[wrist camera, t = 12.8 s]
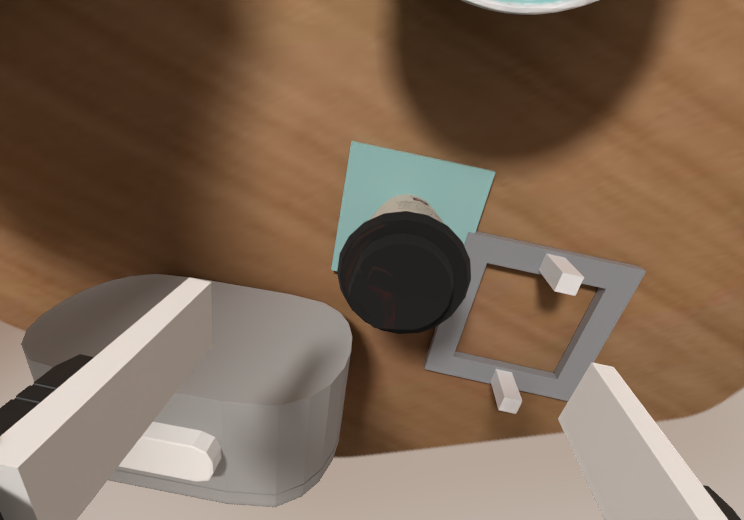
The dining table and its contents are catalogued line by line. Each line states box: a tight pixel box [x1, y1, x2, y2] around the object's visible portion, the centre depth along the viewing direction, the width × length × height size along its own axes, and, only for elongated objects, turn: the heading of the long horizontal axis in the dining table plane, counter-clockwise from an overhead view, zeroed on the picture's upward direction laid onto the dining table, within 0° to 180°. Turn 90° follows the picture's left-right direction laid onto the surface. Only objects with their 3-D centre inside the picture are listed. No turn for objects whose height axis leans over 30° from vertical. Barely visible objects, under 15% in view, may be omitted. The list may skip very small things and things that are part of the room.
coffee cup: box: [337, 194, 471, 334], centre depth 22 cm, size 7×7×10 cm
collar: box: [424, 231, 646, 414], centre depth 27 cm, size 13×13×4 cm
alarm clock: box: [21, 274, 352, 507], centre depth 26 cm, size 21×10×13 cm, turn 82°
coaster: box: [331, 141, 495, 271], centre depth 27 cm, size 10×10×1 cm
